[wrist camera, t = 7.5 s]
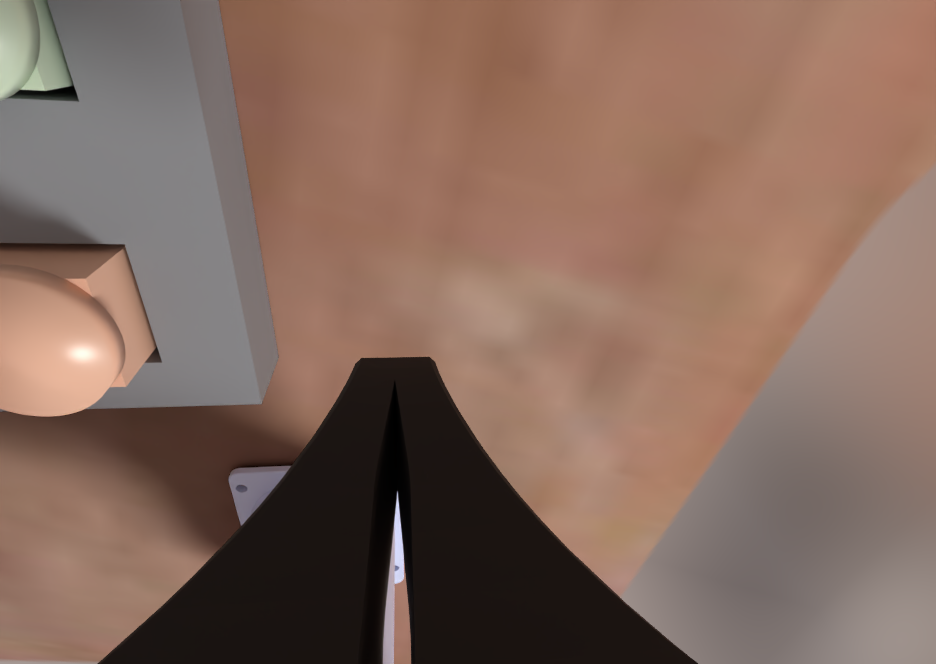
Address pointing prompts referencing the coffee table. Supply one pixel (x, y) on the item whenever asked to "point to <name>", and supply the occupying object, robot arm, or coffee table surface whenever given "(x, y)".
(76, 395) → the terracotta button
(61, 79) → the sage button
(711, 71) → the coffee table surface
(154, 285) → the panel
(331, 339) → the coffee table surface
